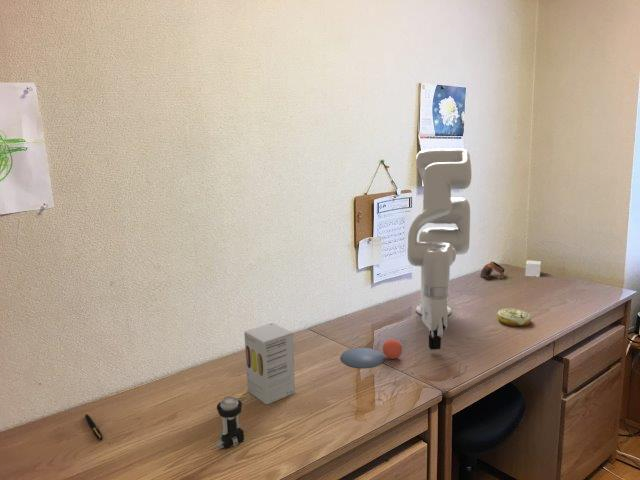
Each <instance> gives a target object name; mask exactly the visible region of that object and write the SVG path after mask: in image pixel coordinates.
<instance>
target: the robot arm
mask: <svg viewBox="0 0 640 480" xmlns="http://www.w3.org/2000/svg"><path fill="white" fill-rule="evenodd" d="M415 161H416V167H417V171H418V173H419V176H420V178H421V181H422V184H423V190H422V195H423V199H422V200H423V201H422V202H423V203H422V211H421V212H420V213H419V214H418V215H417V216H416V217H415V218H414V220H413V221H412V223H411V225H410V227H409V230H408V234H407V260H408V262H409V264H410V265H411V266H414V267H420V304H418V305H417V306H416V308H415V310H416V312H417V313H418V314H419V315H421V321H422V323H423V324H424V325H425V326H426V328H427V329H428V348H429V349H430V350H431V351H434V350H440V349H441V347H442V337H444V331H446V330H447V329H448V316H449V315H450V314H451V313H452V308H451V307H450V306H448V297H450V275H451V273H450V272H451V271H450V268H451V267H452V265H453V264H454V262H455V261H456V258H457V257H456V255H465V254H467V253H468V251H469V249H470V242H471V241H470V238H471V237H470V236H471V233H470V232H471V206H470V203H469V200H468V199H466V198H464V197H452V190H457V189H458V190H465V189H468V188H469V187H470V185H471V182H472V175H473V174H472V163H471V157H470V153H469V151H468V150H467V149H464V148H436V149H435V148H431V149H425V150H424V149H423V150H420V151H419V152H417V154H416V158H415ZM427 224H431V225H449V226H450V225H452V226H453V225H454V226H456V227H427V228H424V229H423V230H421V229H422V228H423V227H424V226H425V225H427ZM420 230H421V231H420ZM419 231H420V233H419ZM418 233H419V236H418ZM418 237H419V238H418Z"/></svg>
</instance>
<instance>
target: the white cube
mask: <svg viewBox="0 0 640 480" xmlns="http://www.w3.org/2000/svg"><path fill="white" fill-rule="evenodd" d="M525 262H526V263H525V275H524V276H526V277H534V276H536V278H539V277H541V265H542V261H541V260H539V261H538V260H531V259H530V260H529V259H527V260H526V261H525Z"/></svg>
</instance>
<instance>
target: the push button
mask: <svg viewBox="0 0 640 480" xmlns="http://www.w3.org/2000/svg"><path fill="white" fill-rule="evenodd" d="M242 407H243V403H242V401H241V400H239V399H238V398H237V397H234V396H227V397H224V398H222V399H221V400H220V402H218V403H217V405H216V411H217V413H218V415H219V416H220V417H221V420H222V421H221V422H222V431H221V434H220V436H219V438H220V441H218V442H216V443H215V444H214V445H215V446H216V447H215V449H216V450H220V449H223V448H224V449H226V450H227V449H229V448H231V447H236V446H237V445H238V443H242V442H244V441H245V434H244V432H245V431H244V429H242V428H241V425H240V423H239V419H240V418H239V414H241V412H242Z"/></svg>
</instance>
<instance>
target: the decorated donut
mask: <svg viewBox="0 0 640 480" xmlns="http://www.w3.org/2000/svg"><path fill="white" fill-rule="evenodd" d="M531 318H532V315H531V314H529V313H528V312H526V311H524V310H521V309H517V308H502V309H500V310H499V311H497V319H498V321H500V323H501V324H504V325H507V326H510V327H524V326H525V327H526V326H528V325H530V324H531Z"/></svg>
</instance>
